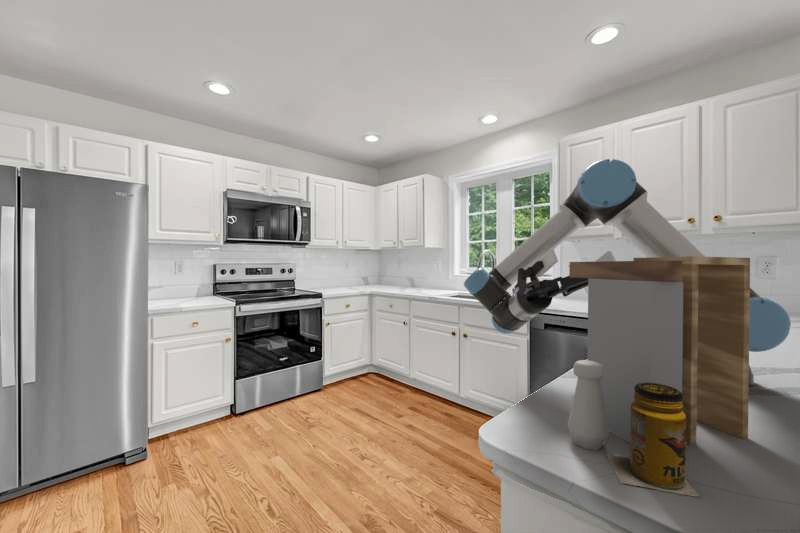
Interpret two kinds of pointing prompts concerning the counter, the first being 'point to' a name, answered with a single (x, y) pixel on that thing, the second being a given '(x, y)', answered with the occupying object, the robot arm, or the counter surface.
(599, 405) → the salt shaker
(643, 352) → the stone block
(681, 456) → the condiment
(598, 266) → the walnut rail
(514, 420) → the counter surface
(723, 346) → the oak shelf
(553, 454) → the counter surface
